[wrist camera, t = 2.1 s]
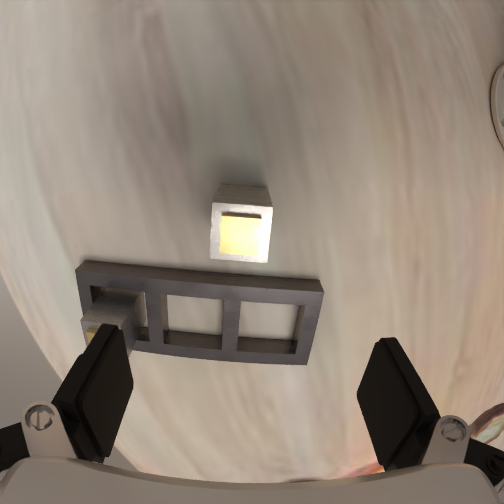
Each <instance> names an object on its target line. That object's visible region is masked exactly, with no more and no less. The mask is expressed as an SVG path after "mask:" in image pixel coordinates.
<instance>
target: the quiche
mask: <svg viewBox="0 0 504 504" xmlns="http://www.w3.org/2000/svg"><path fill="white" fill-rule="evenodd" d="M469 429H470V437H471V438H473V439H475V440H478V441H480V442H483V443H485V444H488V443H489V442H491V441H492V440H494V439H496V438H497V437H498V436H499V435H500V433H501V432H502V431H503V430H504V403H501V404H499V405H496V406H494V407H492V408H491V409H489V410H487V411H485V412H484V413H483V414H481V415H480V416H479V417H478V418H477V419H476V420H475V421H474V422H473V423H472V424H470V425H469Z"/></svg>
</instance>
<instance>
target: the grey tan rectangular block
mask: <svg viewBox="0 0 504 504" xmlns="http://www.w3.org/2000/svg"><path fill="white" fill-rule="evenodd" d="M80 321H81V325H82V329H83V334H84V338H85V342H86V346H88V345H89V343H90V342H91V340H92V338H93V337H94V335H95V334H96V332H97V330H98V329H99V327H100V326H101V324H103V323H106V324H113V325H117V326H118V327H119V329H121V330H122V331H123V334H124V339H125V344H126V349H127V354H128V358H129V356H130V354H131V351H132V349H133V347H134V345H135V343H136V341H137V338H138V336H139V334H140V332H141V330H142V328H143V326H144V324H145V321H146V313H145V302H144V292H141V291H132V290H124V289H115V288H108V287H106V288H105V289H104V290H103V291H102V293H101V294H100V295H99V297H98V298H97V299H96V300H95V302H94V303H93V304H92V306H91V307H90V308H89V310H88V311H87V312H86V313H85V315H84V316H83V317H82V319H81V320H80Z"/></svg>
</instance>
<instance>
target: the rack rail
mask: <svg viewBox="0 0 504 504" xmlns="http://www.w3.org/2000/svg"><path fill="white" fill-rule="evenodd" d="M75 273H76V279H77V285H78V291H79V296H80V302H81V307H82V312H83V316H84V315H85V313H86V312H87V311H88V310H89V308H90V307H91V306H92V304H93V303H94V302H95V300H96V299H97V298H98V297H99V295H100V294H101V293H102V292H101V287H108V288H115V289H124V290H132V291H141V292H145V298H146V309H147V320H148V328H146V327H143V328H142V330H141V332H140V334H139V336H138V338H137V341H136V343H135V345H134V347H133V349H132V350H136V351H142V352H149V353H156V354H163V355H171V356H179V357H188V358H197V359H207V360H218V361H230V362H244V363H261V364H284V365H307V362H308V359H309V355H310V351H311V347H312V343H313V339H314V335H315V330H316V326H317V322H318V318H319V313H320V309H321V304H322V300H323V295H324V290H323V288H322V286H321V283H320V281H319V280H310V279H295V278H281V277H267V276H254V275H241V274H228V273H216V272H204V271H192V270H181V269H170V268H159V267H148V266H138V265H128V264H118V263H108V262H98V261H89V260H85V261H84V262H83V263H82V264H81V265H80V266H79V267H78V268H77V269H75ZM167 294H168V295H178V296H188V297H199V298H210V299H222V300H224V316H223V336H219V335H208V334H197V333H188V332H178V331H170V330H169V329H168V312H167ZM241 301H247V302H261V303H276V304H293V305H300V306H299V311H298V317H297V322H296V327H295V332H294V337H293V340H278V339H260V338H244V337H238V329H239V317H240V305H241Z"/></svg>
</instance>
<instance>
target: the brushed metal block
mask: <svg viewBox="0 0 504 504" xmlns="http://www.w3.org/2000/svg"><path fill="white" fill-rule="evenodd" d="M272 213H273V205H272V202H271V198H270V194H269V191H268V188H266V187H255V186H243V185H230V184H221V186H220V188H219V190H218V192H217V194H216V196H215V198H214V200H213V202H212V218H211V239H210V258H212V259H224V260H237V261H249V262H262V263H267V257H268V248H269V239H270V231H271V222H272Z"/></svg>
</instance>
